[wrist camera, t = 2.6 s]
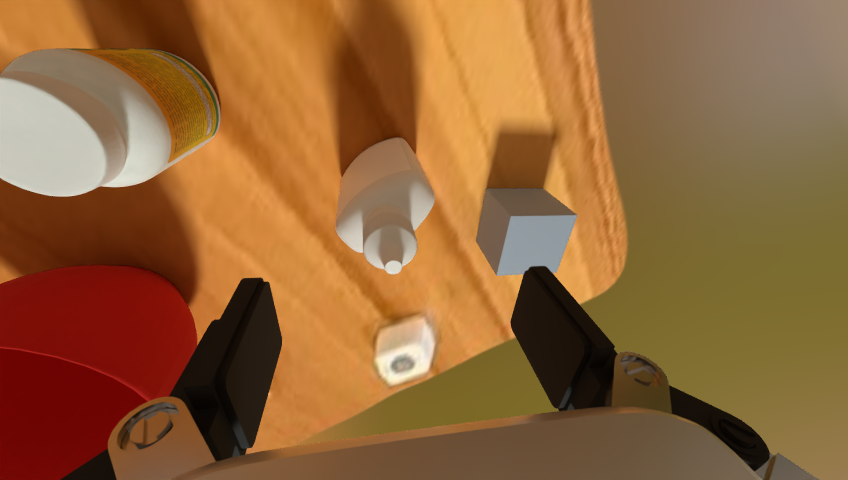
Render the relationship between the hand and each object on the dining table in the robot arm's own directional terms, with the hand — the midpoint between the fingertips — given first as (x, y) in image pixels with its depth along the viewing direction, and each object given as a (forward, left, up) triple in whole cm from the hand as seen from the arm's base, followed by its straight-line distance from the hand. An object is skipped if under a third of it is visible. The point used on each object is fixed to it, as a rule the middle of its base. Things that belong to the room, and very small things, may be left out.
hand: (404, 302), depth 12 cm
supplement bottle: (-4, -12, -14) cm, 19 cm away
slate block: (+4, +11, -14) cm, 18 cm away
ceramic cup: (+10, -21, -14) cm, 27 cm away
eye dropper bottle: (0, 0, -14) cm, 14 cm away
